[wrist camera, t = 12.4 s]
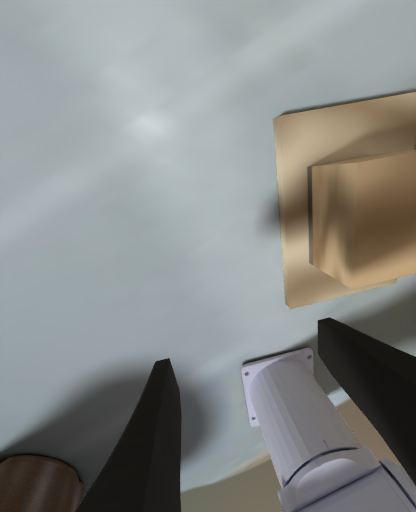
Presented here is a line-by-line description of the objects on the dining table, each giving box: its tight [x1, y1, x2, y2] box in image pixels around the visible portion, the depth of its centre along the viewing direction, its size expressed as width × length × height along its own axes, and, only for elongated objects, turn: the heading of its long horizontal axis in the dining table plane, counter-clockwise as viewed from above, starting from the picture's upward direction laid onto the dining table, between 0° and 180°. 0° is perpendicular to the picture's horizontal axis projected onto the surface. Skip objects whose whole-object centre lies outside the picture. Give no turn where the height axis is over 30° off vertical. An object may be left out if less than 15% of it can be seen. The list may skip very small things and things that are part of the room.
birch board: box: [273, 92, 416, 309], centre depth 19 cm, size 16×11×1 cm
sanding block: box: [307, 149, 416, 289], centre depth 16 cm, size 8×5×5 cm, turn 10°
